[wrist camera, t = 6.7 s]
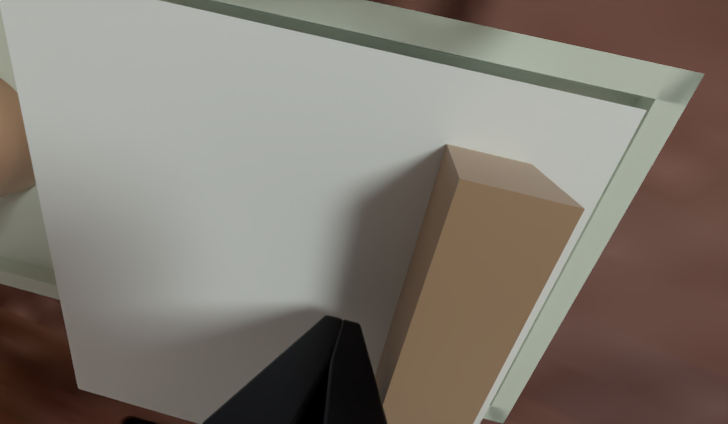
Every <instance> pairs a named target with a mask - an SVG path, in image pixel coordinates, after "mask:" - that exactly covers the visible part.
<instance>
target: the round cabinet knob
mask: <svg viewBox="0 0 728 424" xmlns="http://www.w3.org/2000/svg"><path fill="white" fill-rule="evenodd" d="M35 185H36V181H35V176H34V171H33V166H32V161H31V156H30V151H29V146H28V141H27V137H26V132H25V127H24V122H23V117H22V112H21V107H20V102H19V97H18V93H17V92H16V91H15V90H14V89H13V88H12V87H11V86H10V85H9V84H8V83H7V82H5V81H4V80H3V79H1V78H0V198H1V197H4V196H7V195H10V194H13V193H17V192H20V191H23V190H26V189H29V188H31V187H33V186H35Z"/></svg>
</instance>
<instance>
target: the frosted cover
mask: <svg viewBox="0 0 728 424" xmlns="http://www.w3.org/2000/svg"><path fill="white" fill-rule="evenodd" d="M0 9H1V14H2V19H3V24H4V29H5V34H6V39H7V44H8V48H9V53H10V58H11V63H12V68H13V73H14V78H15V83H16V88H17V92H18V97H19V102H20V107H21V112H22V117H23V122H24V127H25V132H26V137H27V141H28V146H29V151H30V156H31V161H32V166H33V171H34V176H35V181H36V185H37V190H38V195H39V200H40V205H41V210H42V215H43V220H44V225H45V229H46V234H47V239H48V244H49V249H50V254H51V259H52V264H53V269H54V274H55V278H56V283H57V288H58V293H59V298H60V303H61V308H62V313H63V318H64V322H65V327H66V332H67V337H68V342H69V347H70V352H71V357H72V362H73V367H74V371H75V376H76V381H77V386H78V389H81V390H85V391H88V392H91V393H95V394H98V395H102V396H105V397H108V398H112V399H115V400H119V401H122V402H126V403H129V404H132V405H136V406H139V407H143V408H146V409H149V410H153V411H156V412H160V413H163V414H167V415H170V416H173V417H177V418H180V419H184V420H187V421H190V422H194V423H197V424H202V423H203V422H204V421H205V420H206V419H207V418H208V417H209V416H210V415H212V414H213V413H214V412H215V411H216V410H217V409H218V408H220V407H221V406H222V405H223V404H224V403H225V402H226V401H228V400H229V399H230V398H231V397H232V396H233V395H234V394H236V393H237V392H238V391H239V390H240V389H241V388H242V387H244V386H245V385H246V384H247V383H248V382H249V381H250V380H252V379H253V378H254V377H255V376H256V375H257V374H258V373H260V372H261V371H262V370H263V369H264V368H265V367H266V366H268V365H269V364H270V363H271V362H272V361H273V360H274V359H276V358H277V357H278V356H279V355H280V354H281V353H282V352H284V351H285V350H286V349H287V348H288V347H289V346H290V345H292V344H293V343H294V342H295V341H296V340H297V339H298V338H300V337H301V336H302V335H303V334H304V333H305V332H306V331H308V330H309V329H310V328H311V327H312V326H313V325H314V324H316V323H317V322H318V321H319V320H320V319H321V318H322V317H324V316H325V315H331V316H334V317H338V318H341V319H342V320H344V319H345V320H349V321H353V322H357V323H359V324H360V325H361V328H362V332H363V335H364V339H365V343H366V346H367V350H368V354H369V357H370V361H371V365H372V368H373V372H374V376H375V379H376V383H377V387H378V390H379V394H380V397H381V401H382V405H383V408H384V412H385V416H386V419H387V423H388V424H480V422H481V420H482V418H483V417H484V415H485V413H486V411H487V409H488V407H489V405H490V403H491V402H492V400H493V398H494V396H495V394H496V392H497V390H498V388H499V387H500V385H501V383H502V381H503V379H504V377H505V375H506V373H507V371H508V370H509V368H510V366H511V364H512V362H513V360H514V358H515V356H516V355H517V353H518V351H519V349H520V347H521V345H522V343H523V341H524V340H525V338H526V336H527V334H528V332H529V330H530V328H531V326H532V325H533V323H534V321H535V319H536V317H537V315H538V313H539V311H540V310H541V308H542V306H543V304H544V302H545V300H546V298H547V296H548V294H549V293H550V291H551V289H552V287H553V285H554V283H555V281H556V279H557V278H558V276H559V274H560V272H561V270H562V268H563V266H564V264H565V263H566V261H567V259H568V257H569V255H570V253H571V251H572V249H573V248H574V246H575V244H576V242H577V240H578V238H579V236H580V234H581V233H582V231H583V229H584V227H585V225H586V223H587V221H588V219H589V217H590V216H591V214H592V212H593V210H594V208H595V206H596V204H597V202H598V201H599V199H600V197H601V195H602V193H603V191H604V189H605V187H606V186H607V184H608V182H609V180H610V178H611V176H612V174H613V172H614V171H615V169H616V167H617V165H618V163H619V161H620V159H621V157H622V156H623V154H624V152H625V150H626V148H627V146H628V144H629V142H630V140H631V139H632V137H633V135H634V133H635V131H636V129H637V127H638V125H639V124H640V122H641V120H642V118H643V116H644V114H645V112H646V110H644V109H640V108H635V107H631V106H626V105H622V104H617V103H613V102H609V101H604V100H600V99H595V98H591V97H586V96H582V95H577V94H573V93H569V92H564V91H560V90H555V89H551V88H546V87H542V86H537V85H533V84H529V83H524V82H520V81H515V80H511V79H506V78H502V77H498V76H493V75H489V74H484V73H480V72H475V71H471V70H466V69H462V68H458V67H453V66H449V65H444V64H440V63H435V62H431V61H426V60H422V59H418V58H413V57H409V56H404V55H400V54H395V53H391V52H386V51H382V50H378V49H373V48H369V47H364V46H360V45H355V44H351V43H347V42H342V41H338V40H333V39H329V38H324V37H320V36H315V35H311V34H307V33H302V32H298V31H293V30H289V29H284V28H280V27H275V26H271V25H267V24H262V23H258V22H253V21H249V20H244V19H240V18H236V17H231V16H227V15H222V14H218V13H213V12H209V11H204V10H200V9H196V8H191V7H187V6H182V5H178V4H173V3H169V2H164V1H160V0H0Z"/></svg>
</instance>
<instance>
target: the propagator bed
mask: <svg viewBox="0 0 728 424" xmlns="http://www.w3.org/2000/svg"><path fill="white" fill-rule="evenodd" d="M160 1H164V2H169V3H173V4H178V5H182V6H187V7H191V8H196V9H200V10H204V11H209V12H213V13H218V14H222V15H227V16H231V17H236V18H240V19H244V20H249V21H253V22H258V23H262V24H267V25H271V26H275V27H280V28H284V29H289V30H293V31H298V32H302V33H307V34H311V35H315V36H320V37H324V38H329V39H333V40H338V41H342V42H347V43H351V44H355V45H360V46H364V47H369V48H373V49H378V50H382V51H386V52H391V53H395V54H400V55H404V56H409V57H413V58H418V59H422V60H426V61H431V62H435V63H440V64H444V65H449V66H453V67H458V68H462V69H466V70H471V71H475V72H480V73H484V74H489V75H493V76H498V77H502V78H506V79H511V80H515V81H520V82H524V83H529V84H533V85H537V86H542V87H546V88H551V89H555V90H560V91H564V92H569V93H573V94H577V95H582V96H586V97H591V98H595V99H600V100H604V101H609V102H613V103H617V104H622V105H626V106H631V107H635V108H640V109H644V110H646V112H645V114H644V116H643V118H642V120H641V122H640V124H639V125H638V127H637V129H636V131H635V133H634V135H633V137H632V139H631V140H630V142H629V144H628V146H627V148H626V150H625V152H624V154H623V156H622V157H621V159H620V161H619V163H618V165H617V167H616V169H615V171H614V172H613V174H612V176H611V178H610V180H609V182H608V184H607V186H606V187H605V189H604V191H603V193H602V195H601V197H600V199H599V201H598V202H597V204H596V206H595V208H594V210H593V212H592V214H591V216H590V217H589V219H588V221H587V223H586V225H585V227H584V229H583V231H582V233H581V234H580V236H579V238H578V240H577V242H576V244H575V246H574V248H573V249H572V251H571V253H570V255H569V257H568V259H567V261H566V263H565V264H564V266H563V268H562V270H561V272H560V274H559V276H558V278H557V279H556V281H555V283H554V285H553V287H552V289H551V291H550V293H549V294H548V296H547V298H546V300H545V302H544V304H543V306H542V308H541V310H540V311H539V313H538V315H537V317H536V319H535V321H534V323H533V325H532V326H531V328H530V330H529V332H528V334H527V336H526V338H525V340H524V341H523V343H522V345H521V347H520V349H519V351H518V353H517V355H516V356H515V358H514V360H513V362H512V364H511V366H510V368H509V370H508V371H507V373H506V375H505V377H504V379H503V381H502V383H501V385H500V387H499V388H498V390H497V392H496V394H495V396H494V398H493V400H492V402H491V403H490V405H489V407H488V409H487V411H486V413H485V415H484V417H483V418H485V419H488V420H492V421H495V422H499V423H504V421H505V420H506V418H507V416H508V414H509V413H510V411H511V409H512V407H513V406H514V404H515V402H516V400H517V399H518V397H519V395H520V394H521V392H522V390H523V388H524V387H525V385H526V383H527V381H528V380H529V378H530V376H531V374H532V373H533V371H534V369H535V368H536V366H537V364H538V362H539V361H540V359H541V357H542V355H543V354H544V352H545V350H546V348H547V347H548V345H549V343H550V341H551V340H552V338H553V336H554V335H555V333H556V331H557V329H558V328H559V326H560V324H561V322H562V321H563V319H564V317H565V315H566V314H567V312H568V310H569V308H570V307H571V305H572V303H573V302H574V300H575V298H576V296H577V295H578V293H579V291H580V289H581V288H582V286H583V284H584V282H585V281H586V279H587V277H588V276H589V274H590V272H591V270H592V269H593V267H594V265H595V263H596V262H597V260H598V258H599V256H600V255H601V253H602V251H603V249H604V248H605V246H606V244H607V243H608V241H609V239H610V237H611V236H612V234H613V232H614V230H615V229H616V227H617V225H618V223H619V222H620V220H621V218H622V217H623V215H624V213H625V211H626V210H627V208H628V206H629V204H630V203H631V201H632V199H633V197H634V196H635V194H636V192H637V190H638V189H639V187H640V185H641V184H642V182H643V180H644V178H645V177H646V175H647V173H648V171H649V170H650V168H651V166H652V164H653V163H654V161H655V159H656V157H657V156H658V154H659V152H660V151H661V149H662V147H663V145H664V144H665V142H666V140H667V138H668V137H669V135H670V133H671V131H672V130H673V128H674V126H675V125H676V123H677V121H678V119H679V118H680V116H681V114H682V112H683V111H684V109H685V107H686V105H687V104H688V102H689V100H690V98H691V97H692V95H693V93H694V92H695V90H696V88H697V86H698V85H699V83H700V81H701V79H702V78H703V76H704V74H702V73H698V72H693V71H689V70H684V69H679V68H675V67H670V66H666V65H661V64H656V63H652V62H647V61H643V60H638V59H633V58H629V57H624V56H620V55H615V54H611V53H606V52H601V51H597V50H592V49H588V48H583V47H578V46H574V45H569V44H565V43H560V42H555V41H551V40H546V39H542V38H537V37H533V36H528V35H523V34H519V33H514V32H510V31H505V30H500V29H496V28H491V27H487V26H482V25H477V24H473V23H468V22H464V21H459V20H454V19H450V18H445V17H441V16H436V15H432V14H427V13H422V12H418V11H413V10H409V9H404V8H399V7H395V6H390V5H386V4H381V3H376V2H372V1H367V0H160ZM0 78H1V79H3V80H4V81H5V82H7V83H8V84H9V85H10V86H11V87H12V88H13V89H14V90H15V91H16V92H17V88H16V83H15V78H14V73H13V68H12V63H11V58H10V53H9V48H8V44H7V39H6V34H5V29H4V24H3V19H2V14H1V9H0ZM17 93H18V92H17ZM0 284H4V285H7V286H11V287H15V288H18V289H22V290H25V291H29V292H33V293H36V294H40V295H43V296H47V297H51V298H54V299H58V300H60V298H59V293H58V288H57V283H56V278H55V274H54V269H53V264H52V259H51V254H50V249H49V244H48V239H47V234H46V229H45V225H44V220H43V215H42V210H41V205H40V200H39V195H38V190H37V185H35V186H33V187H31V188H29V189H26V190H23V191H20V192H17V193H13V194H10V195H7V196H4V197H1V198H0Z"/></svg>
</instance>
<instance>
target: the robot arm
mask: <svg viewBox="0 0 728 424" xmlns="http://www.w3.org/2000/svg"><path fill="white" fill-rule="evenodd" d="M122 424H147V423H143V422H140V421H137V420H133V419H126V420H125V421H124V422H123V423H122ZM202 424H388V423H387V419H386V416H385V412H384V408H383V405H382V401H381V397H380V394H379V390H378V387H377V383H376V379H375V376H374V372H373V368H372V365H371V361H370V357H369V354H368V350H367V346H366V343H365V339H364V335H363V332H362V328H361V325H360V324H359V323H357V322H353V321H349V320H345V319H344V320H342V319H341V318H338V317H334V316H331V315H325V316H324V317H322V318H321V319H320V320H319V321H318V322H317V323H316V324H314V325H313V326H312V327H311V328H310V329H309V330H308V331H306V332H305V333H304V334H303V335H302V336H301V337H300V338H298V339H297V340H296V341H295V342H294V343H293V344H292V345H290V346H289V347H288V348H287V349H286V350H285V351H284V352H282V353H281V354H280V355H279V356H278V357H277V358H276V359H274V360H273V361H272V362H271V363H270V364H269V365H268V366H266V367H265V368H264V369H263V370H262V371H261V372H260V373H258V374H257V375H256V376H255V377H254V378H253V379H252V380H250V381H249V382H248V383H247V384H246V385H245V386H244V387H242V388H241V389H240V390H239V391H238V392H237V393H236V394H234V395H233V396H232V397H231V398H230V399H229V400H228V401H226V402H225V403H224V404H223V405H222V406H221V407H220V408H218V409H217V410H216V411H215V412H214V413H213V414H212V415H210V416H209V417H208V418H207V419H206V420H205V421H204V422H203V423H202Z"/></svg>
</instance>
